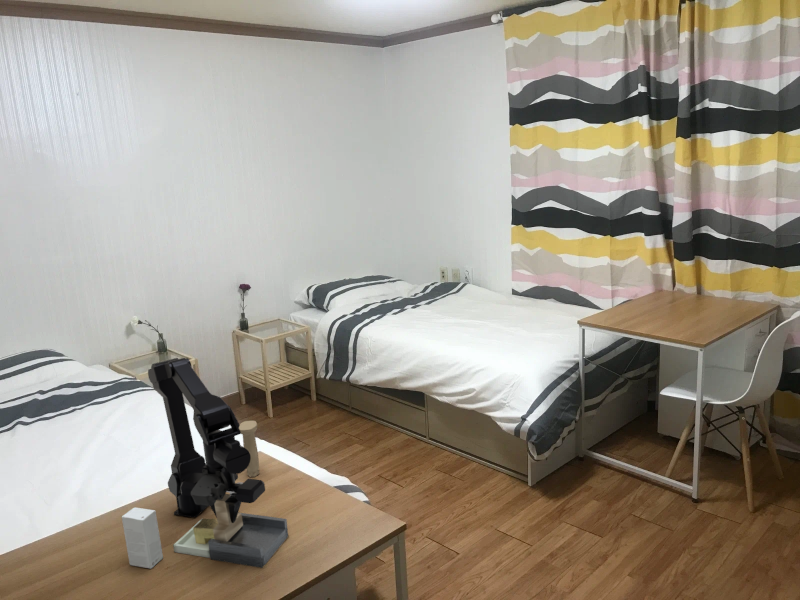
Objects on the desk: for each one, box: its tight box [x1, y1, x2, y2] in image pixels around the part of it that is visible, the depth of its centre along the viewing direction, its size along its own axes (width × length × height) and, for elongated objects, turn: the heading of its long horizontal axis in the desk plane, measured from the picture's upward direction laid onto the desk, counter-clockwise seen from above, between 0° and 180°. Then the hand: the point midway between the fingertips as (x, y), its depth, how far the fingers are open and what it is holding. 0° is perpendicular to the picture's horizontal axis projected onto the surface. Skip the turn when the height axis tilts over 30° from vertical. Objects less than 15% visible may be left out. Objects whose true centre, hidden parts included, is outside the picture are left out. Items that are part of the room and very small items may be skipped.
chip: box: [202, 518, 218, 539], centre depth 146 cm, size 4×4×2 cm
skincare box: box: [121, 507, 164, 570], centre depth 140 cm, size 6×4×12 cm
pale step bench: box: [213, 493, 243, 541], centre depth 144 cm, size 3×7×9 cm, turn 162°
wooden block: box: [192, 517, 212, 544], centre depth 147 cm, size 4×4×2 cm
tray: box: [173, 518, 211, 559], centre depth 148 cm, size 10×11×2 cm
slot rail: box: [208, 512, 289, 569], centre depth 144 cm, size 13×12×4 cm
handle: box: [239, 420, 260, 478], centre depth 177 cm, size 5×6×15 cm
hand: (227, 521), depth 145 cm, fingers closed on pale step bench, 3 cm apart
